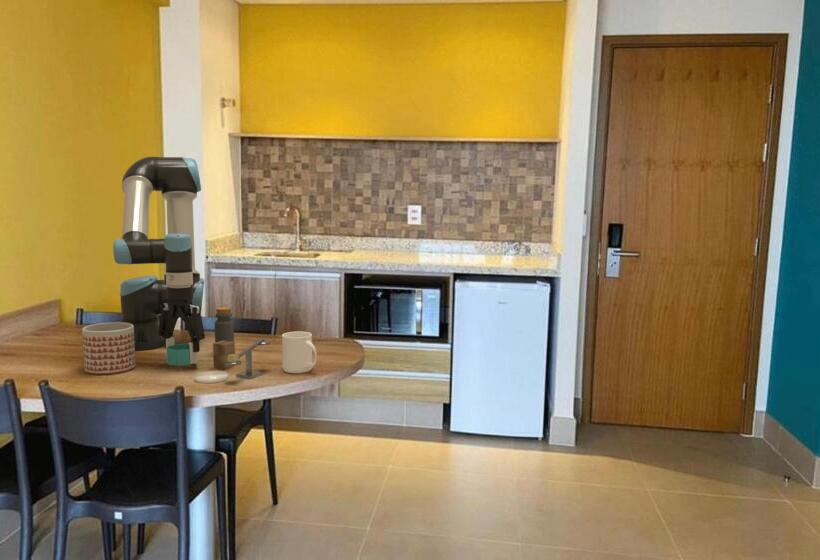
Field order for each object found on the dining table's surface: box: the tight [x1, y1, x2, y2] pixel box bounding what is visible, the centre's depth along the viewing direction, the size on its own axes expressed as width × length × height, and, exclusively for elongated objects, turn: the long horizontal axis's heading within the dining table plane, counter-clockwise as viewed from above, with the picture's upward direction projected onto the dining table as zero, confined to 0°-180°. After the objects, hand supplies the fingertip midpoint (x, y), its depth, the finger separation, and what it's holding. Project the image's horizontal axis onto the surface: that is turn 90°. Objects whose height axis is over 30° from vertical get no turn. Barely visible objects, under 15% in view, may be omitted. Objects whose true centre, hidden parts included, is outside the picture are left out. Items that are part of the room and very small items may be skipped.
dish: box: [194, 370, 229, 384], centre depth 185 cm, size 9×9×1 cm
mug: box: [281, 331, 318, 374], centre depth 193 cm, size 9×12×11 cm
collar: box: [166, 343, 191, 366], centre depth 197 cm, size 8×8×5 cm
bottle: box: [214, 306, 235, 343], centre depth 212 cm, size 6×6×15 cm
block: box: [212, 341, 236, 371], centre depth 197 cm, size 4×4×8 cm
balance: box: [225, 338, 272, 380], centre depth 188 cm, size 5×18×9 cm, turn 156°
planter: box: [81, 321, 136, 376], centre depth 193 cm, size 14×14×13 cm
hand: (182, 360), depth 198 cm, fingers closed on collar, 8 cm apart
